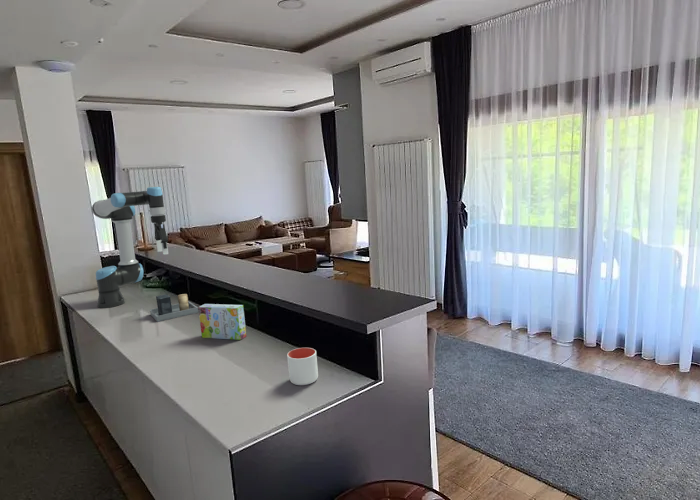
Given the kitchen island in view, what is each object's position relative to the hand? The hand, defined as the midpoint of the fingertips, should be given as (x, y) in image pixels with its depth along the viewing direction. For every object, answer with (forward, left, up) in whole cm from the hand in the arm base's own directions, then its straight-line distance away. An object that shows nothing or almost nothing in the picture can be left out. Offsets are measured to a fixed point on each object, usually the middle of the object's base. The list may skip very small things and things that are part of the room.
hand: (163, 253), depth 250 cm
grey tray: (+8, 0, -34) cm, 35 cm away
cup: (+132, +14, -34) cm, 137 cm away
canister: (+9, +5, -33) cm, 34 cm away
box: (+8, -5, -33) cm, 35 cm away
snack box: (+67, +8, -34) cm, 75 cm away
